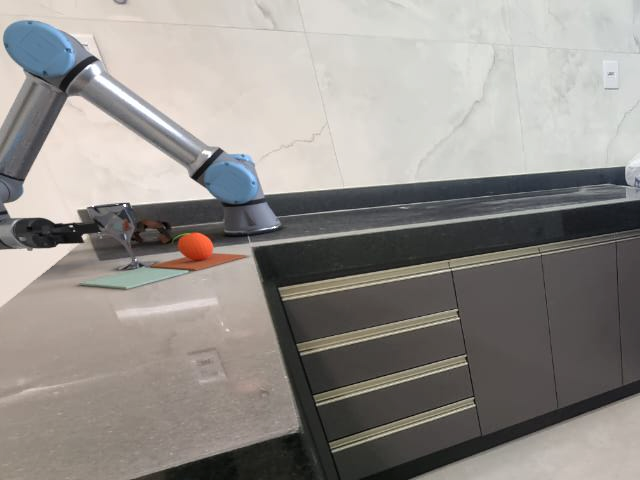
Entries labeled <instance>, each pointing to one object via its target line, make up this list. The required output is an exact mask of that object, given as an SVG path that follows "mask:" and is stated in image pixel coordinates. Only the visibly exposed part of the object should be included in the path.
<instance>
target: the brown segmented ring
mask: <svg viewBox="0 0 640 480" xmlns="http://www.w3.org/2000/svg"><path fill="white" fill-rule="evenodd" d="M136 222H137V229H138V231H134V233H133V235H132V237H131V240H130V242H137V243H138V244H142V243H143V242H144V238H143V237H141V236H140V234H141V233H146V232H147V230H146V229H147V228H149V229H153V230H157V231H158V232H159V234H160V235H159V236H158V237H157V239H158V240H159V241H160V242H161V243H162V244H166V243H169V242H171V241H174V238H173V237H172V235H171V233H172V229H173V227H172V224H171V222H169V221H168V220H166V219H163V218H162V219H158V220H156V221H153V220H149V219H148V218H147V217H145V218H142V219H141V220H139V221H136Z"/></svg>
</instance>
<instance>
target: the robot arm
mask: <svg viewBox="0 0 640 480" xmlns="http://www.w3.org/2000/svg"><path fill="white" fill-rule="evenodd" d="M2 43H3V47H4V49H5V51H6V53H7V54H8V56H9V58H11V59H12V61H13V62H14V63H16V64H17V65H18V66H19V67H20V68H22V72H23V73H24V75H25V79H24V82H23V83H22V85H21V87H20V88H19V91H18V93H17V95H16V97H15V99H14V101H13V103H12V105H11V106H10V109H9V110H8V113H7V114H6V116H5V119H4V120H3V122H2V125H1V127H0V251H2V250H5V251H6V250H24V249H25V250H27V251H28V252H32V251H33V250H34V249H41V250H42V249H52V248H56V247H57V246H59V245H73V244H76V245H77V244H85V243H86V242H85V240H84V238H83V236H84V235H88V234H89V235H90V234H95V233H96V234H97V233H104V232H103V231H101V230H100V229H99V228H98V226H97V225H96V224H95V223H94V221H93V220H92V221H81V222H75V221H74V222H67V223H63V222H57V223H56V222H54V221H52V220H50V219H48V218H45V217H11V216H10V213H9V211H8V209H7V208H6V206H5V204H11V203H13V202H16V201H18V200H19V199H20V198H21V197H22V196H23V194H24V190H25V189H24V183H25V181H26V179H27V177H28V175H29V174H30V171H31V170H32V167H33V165H34V163H35V161H36V160H37V157H38V156H39V154H40V152H41V149H42V148H43V147H44V145H45V142H46V141H47V138H48V136H49V135H50V133H51V131H52V129H53V127H54V125H55V123H56V121H57V119H58V117H59V115H60V113H61V111H62V110H63V108H64V106H65V104H66V101H67V100H68V98H70V97H80V98H82V99H84V100H86V101H87V102H88V103H90V104H91V105H93V106H95V107H96V108H97V109H99V110H100V111H102V112H103V113H105V114H106V115H107V116H109V117H110V118H111V119H113V120H114V121H116V122H118V123H119V124H121V125H122V126H123V127H125V128H126V129H128V130H129V131H131V132H132V133H134V134H135V135H136V136H137V137H139V138H141V139H143V140H144V141H145V142H147V143H148V144H150V145H151V146H153V147H154V148H156V149H157V150H159V151H160V152H161V153H163V154H165V155H166V156H167V157H169V158H170V159H172V160H173V161H174V162H176V163H177V164H179V165H181V166H182V167H183V168H185V169H186V170H187V172H188V177H189V178H190V179H191V180H192V181H194V182H196V183H197V184H199V185H200V186H202V187H203V188H205V189H206V190H207V191H208V192H209V194H210V195H211V196H212V197H213V198H215V199H217V200H218V201H220V203H221V205H222V208H223V219H222V223H223V231H224V234H225V235H226V236H229V237H242V236H243V237H244V236H253V235H260V234H265V233H271V232H274V231H278V230H281V229H282V228H283V227H282V223H281V221H280V220H279V218H278V217H277V216H276V214H275V213H274V211H273V210H272V208H271V207H270V206H269V204H268V201H267V199H266V196H265V193H264V191H263V187H262V184H261V181H260V178H259V175H258V173H257V170H256V165H255V164H256V163H255V162H254V161H253V159H252V157H251V156H250V155H249V154H245V153H228V152H226V151H225V150H224V149H222V148H221V147H220V146H210V145H207V144H206V142H204V141H202V140H201V139H199V137H197V136H195V135H193V134H192V133H191V132H190V131H189V130H187V129H186V128H184V127H183V126H182V125H180V124H179V123H177V122H176V121H174V120H173V119H172V118H170V117H169V116H168V115H166V114H165V113H163V112H162V111H161V110H159V109H158V108H156V107H155V106H154V105H153V104H151V103H150V102H149V101H147V100H145V99H144V98H143V97H142V96H140V95H139V94H137V93H136V92H134V90H132V89H130V88H129V87H128V86H126V85H125V84H123V83H122V82H121V81H119V80H118V79H116V78H115V77H114V76H112V75H111V74H110V73H109V72H107V70H106V69H105V65H104V62H103V61H102V60H101V59H100V58H98V57H96V56H95V55H94V54H93V53H91V52H89V50H88V49H87V48H86V47H85V46H84V45H83V43H81V42H80V41H79V40H78V39H77V38H76V37H74V36H73V35H71V34H69V33H67V32H65V31H63V30H61V29H58V28H57V27H55V26H53V25H50V24H48V23H45V22H43V21H40V20H34V19H33V20H32V19H29V20H28V19H24V20H17V21H14V22H12V23H11V24H9V25H7V27H6V29H5V30H4V31H3V35H2ZM136 231H138V229H137V227H136V229H135V232H136Z"/></svg>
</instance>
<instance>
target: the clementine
mask: <svg viewBox="0 0 640 480" xmlns="http://www.w3.org/2000/svg"><path fill="white" fill-rule="evenodd" d="M178 237H179V239H178V240H177V248H178V250H179V252H180V254H182V255H183V256H184V257H187V258H189V259H192V260H204V259H206V258H208V257H209V256H210V255H211V254H212V253H213V252H214V244H213V242H212V241H211V239H210V238H209V237H208V236H206V235H205V234H203V233H200V232H192V231H189V232H187V233H181V234H179V235H177V236H176V237H174V238H173V240H171V243H173V242H174V240H175V239H177V238H178Z"/></svg>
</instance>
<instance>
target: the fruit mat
mask: <svg viewBox="0 0 640 480" xmlns="http://www.w3.org/2000/svg"><path fill="white" fill-rule="evenodd" d="M246 257H247V255H246V254H233V253H232V254H231V253H229V254H228V253H216V252H215V253H213V252H212V254H211V255H210V256H209V257H208V258H206V259H204V260H192V259H189V258H187V257H185V256H184V257H179V258H176V259H171V260H167V261H164V262H160V263H159V262H158V263H156V264H153V265H150V266H149V268H159V269H173V270H188V271H194V272H195V271H199V270H203V269H206V268H211V267H213V266H217V265H221V264H225V263H229V262H233V261H236V260H240V259H243V258H246Z"/></svg>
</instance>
